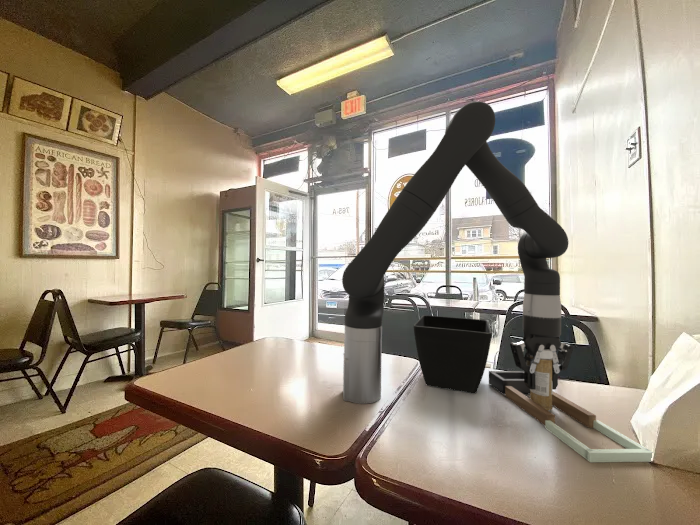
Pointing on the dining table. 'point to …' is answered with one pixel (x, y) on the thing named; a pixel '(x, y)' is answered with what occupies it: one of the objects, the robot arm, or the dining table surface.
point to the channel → (543, 414)
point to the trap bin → (508, 381)
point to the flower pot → (452, 351)
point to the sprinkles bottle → (543, 381)
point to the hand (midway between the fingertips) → (540, 387)
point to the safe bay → (630, 454)
